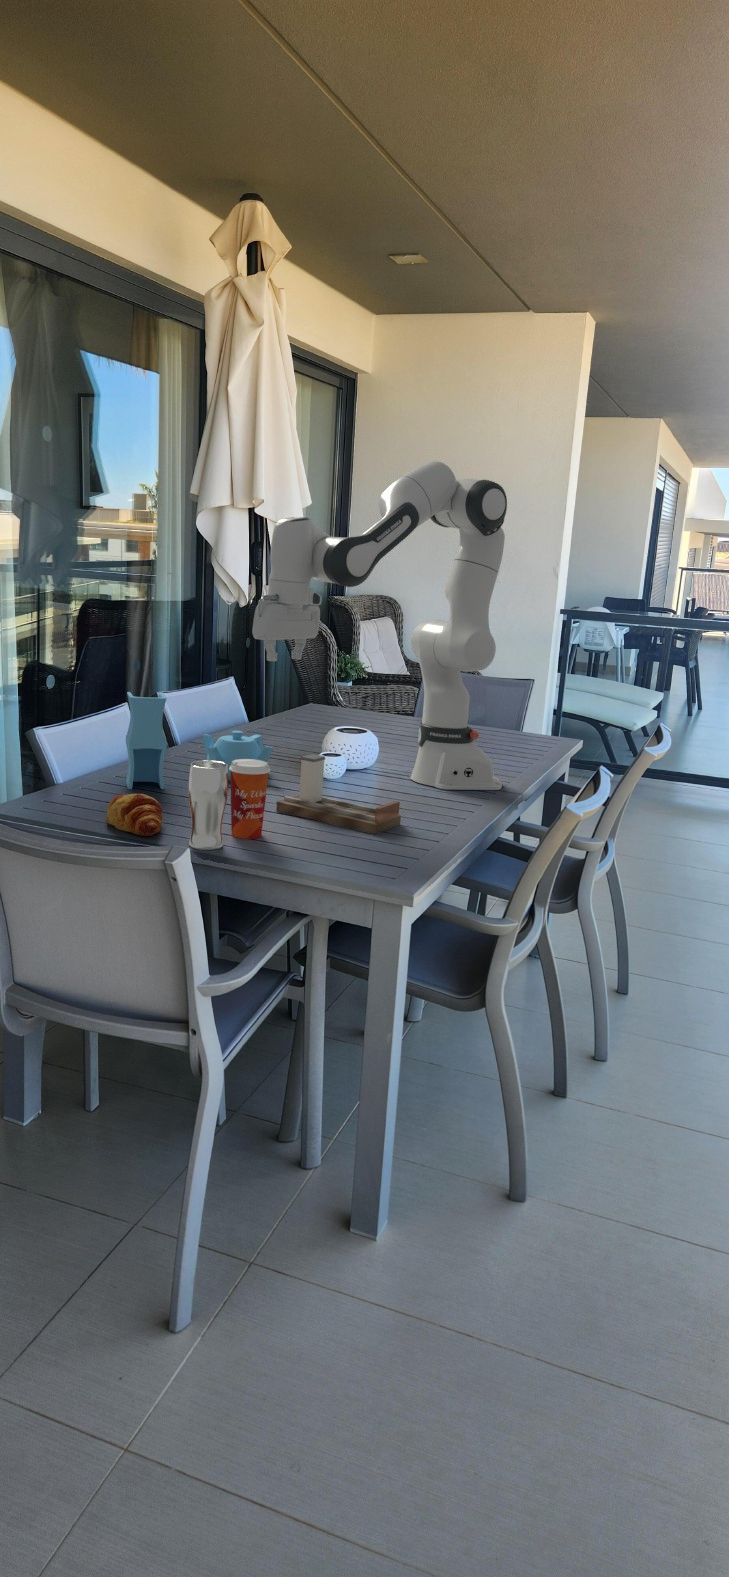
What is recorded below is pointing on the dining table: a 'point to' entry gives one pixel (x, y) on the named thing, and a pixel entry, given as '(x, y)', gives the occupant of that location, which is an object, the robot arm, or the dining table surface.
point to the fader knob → (311, 778)
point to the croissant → (135, 814)
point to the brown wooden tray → (344, 813)
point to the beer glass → (207, 803)
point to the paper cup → (248, 797)
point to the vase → (145, 740)
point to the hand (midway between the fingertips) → (284, 660)
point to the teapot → (236, 748)
